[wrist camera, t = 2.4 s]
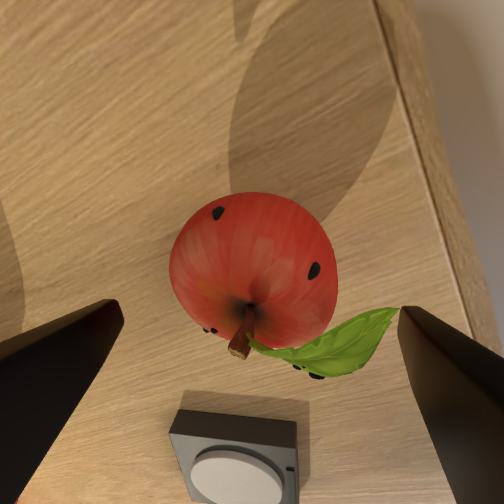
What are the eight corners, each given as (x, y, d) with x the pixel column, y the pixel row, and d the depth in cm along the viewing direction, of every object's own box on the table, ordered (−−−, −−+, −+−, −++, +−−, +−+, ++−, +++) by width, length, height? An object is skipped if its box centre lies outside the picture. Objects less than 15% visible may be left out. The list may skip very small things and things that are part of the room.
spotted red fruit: (272, 307, 17) (237, 500, 8) (185, 239, 16) (42, 377, 7) (368, 220, 14) (480, 388, 5) (267, 129, 13) (188, 140, 4)
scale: (296, 421, 21) (295, 457, 19) (299, 492, 26) (298, 528, 23) (178, 409, 23) (164, 440, 21) (198, 476, 28) (188, 509, 25)
